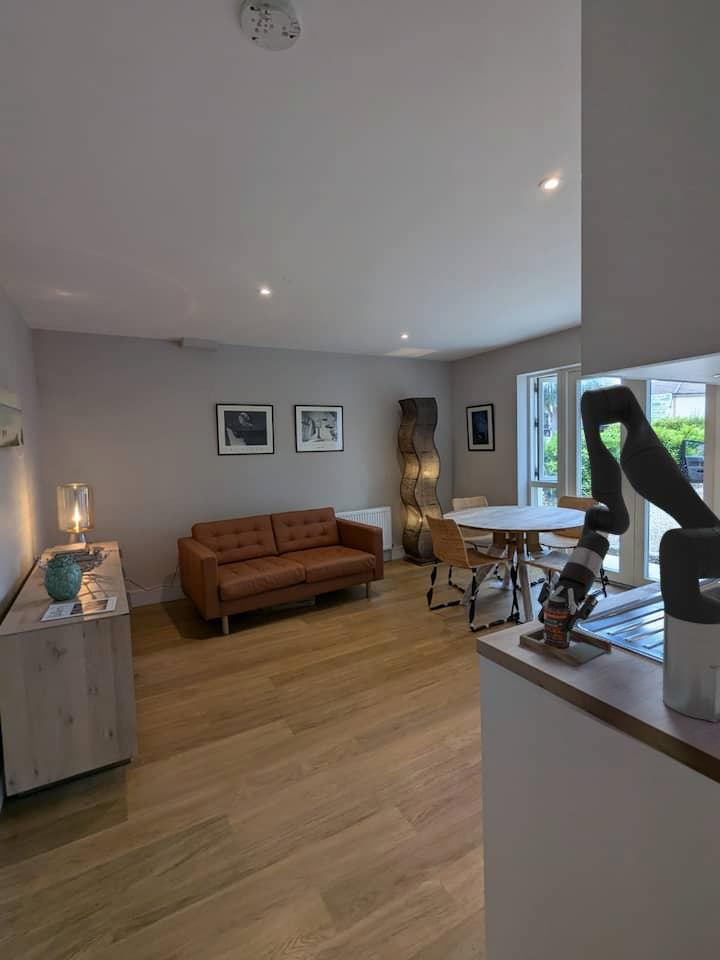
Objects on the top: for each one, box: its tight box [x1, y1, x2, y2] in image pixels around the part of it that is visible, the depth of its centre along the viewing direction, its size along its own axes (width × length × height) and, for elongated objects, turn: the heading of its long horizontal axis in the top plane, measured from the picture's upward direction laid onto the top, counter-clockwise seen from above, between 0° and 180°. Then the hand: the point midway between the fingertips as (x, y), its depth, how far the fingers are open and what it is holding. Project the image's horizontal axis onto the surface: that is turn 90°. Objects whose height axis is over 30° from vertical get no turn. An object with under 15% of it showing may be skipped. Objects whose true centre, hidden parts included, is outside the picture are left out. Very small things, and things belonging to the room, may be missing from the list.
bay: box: [519, 625, 612, 668], centre depth 110 cm, size 15×14×2 cm
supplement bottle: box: [543, 596, 571, 649], centre depth 112 cm, size 6×6×11 cm
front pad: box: [563, 641, 608, 665], centre depth 107 cm, size 6×10×1 cm, turn 122°
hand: (552, 625), depth 111 cm, fingers closed on supplement bottle, 6 cm apart
